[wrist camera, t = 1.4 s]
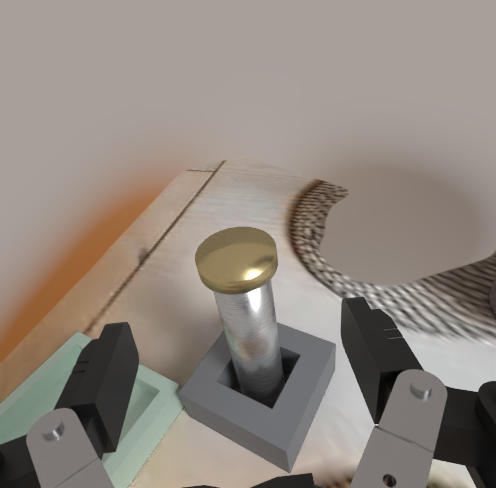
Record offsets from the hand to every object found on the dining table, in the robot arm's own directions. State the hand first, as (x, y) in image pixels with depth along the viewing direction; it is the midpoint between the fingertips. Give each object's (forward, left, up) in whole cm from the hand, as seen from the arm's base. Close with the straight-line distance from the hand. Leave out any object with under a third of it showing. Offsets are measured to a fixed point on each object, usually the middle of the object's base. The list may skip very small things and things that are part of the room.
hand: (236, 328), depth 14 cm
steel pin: (-7, -5, -21) cm, 23 cm away
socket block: (-7, -5, -21) cm, 23 cm away
